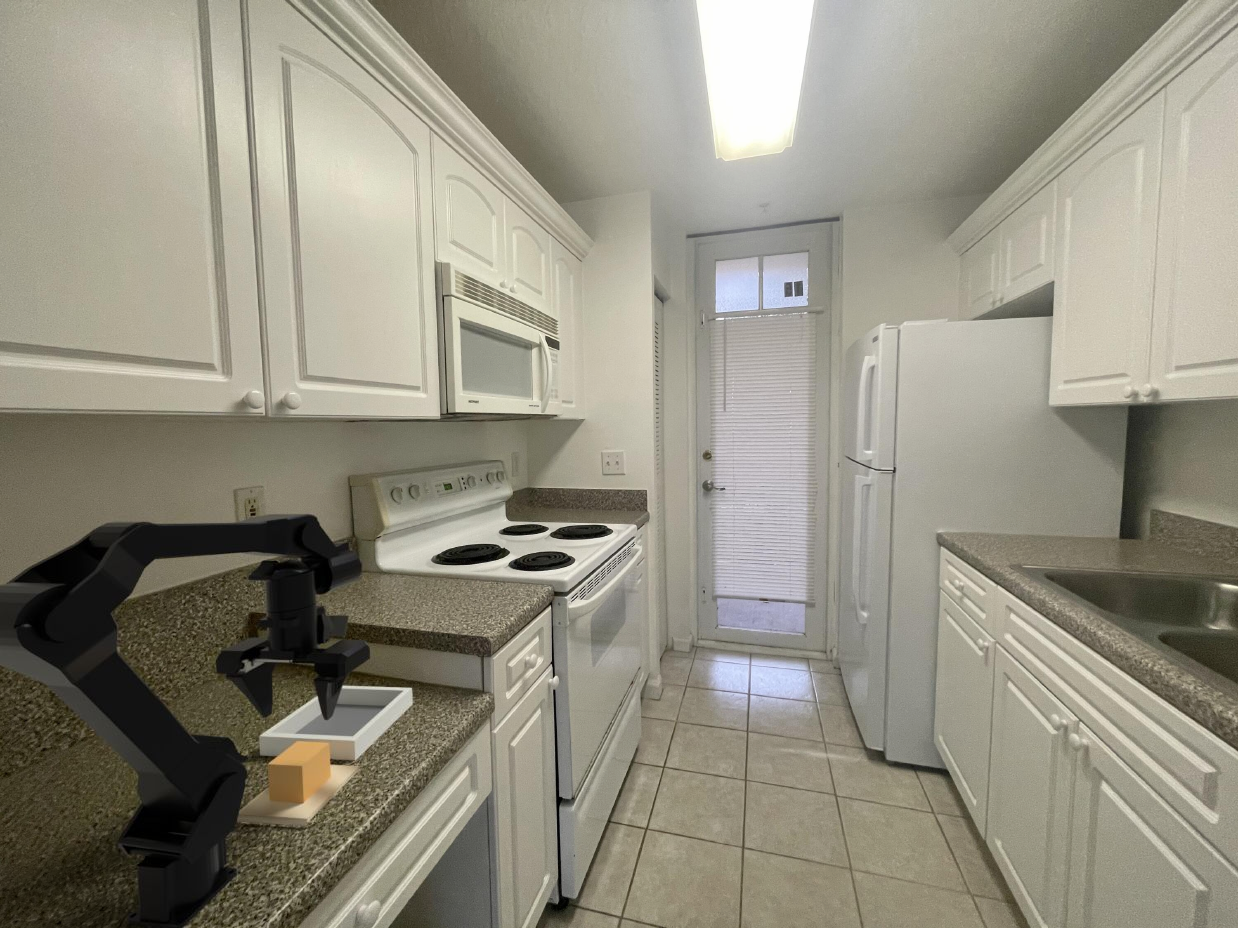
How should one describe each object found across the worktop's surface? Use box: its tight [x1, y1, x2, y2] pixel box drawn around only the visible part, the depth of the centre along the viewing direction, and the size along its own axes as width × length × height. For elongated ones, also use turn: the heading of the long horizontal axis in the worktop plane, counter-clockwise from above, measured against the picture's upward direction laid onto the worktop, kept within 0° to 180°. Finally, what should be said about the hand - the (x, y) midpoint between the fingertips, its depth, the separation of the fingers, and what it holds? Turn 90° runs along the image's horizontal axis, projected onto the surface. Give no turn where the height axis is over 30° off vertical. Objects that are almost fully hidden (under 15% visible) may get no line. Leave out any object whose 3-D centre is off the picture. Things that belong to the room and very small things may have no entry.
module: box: [267, 741, 331, 803], centre depth 66 cm, size 5×5×5 cm
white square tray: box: [258, 685, 414, 761], centre depth 81 cm, size 16×16×4 cm
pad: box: [237, 764, 360, 827], centre depth 66 cm, size 10×10×1 cm
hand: (297, 717), depth 66 cm, fingers open, 9 cm apart
